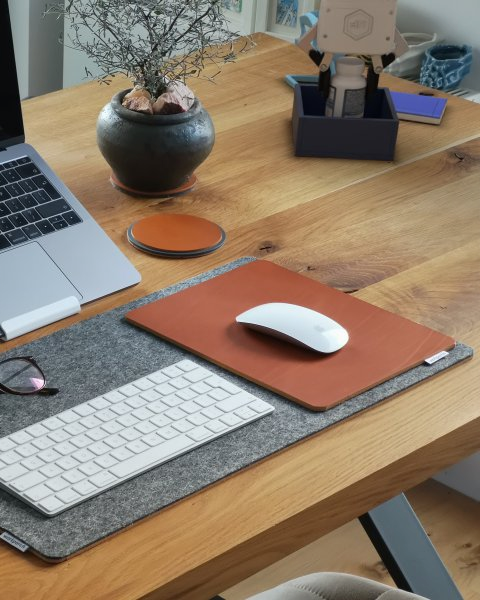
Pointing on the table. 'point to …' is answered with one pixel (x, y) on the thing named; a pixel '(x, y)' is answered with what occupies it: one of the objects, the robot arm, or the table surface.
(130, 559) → the table surface
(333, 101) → the pill bottle
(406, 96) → the blue book
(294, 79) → the chair
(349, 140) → the bin
